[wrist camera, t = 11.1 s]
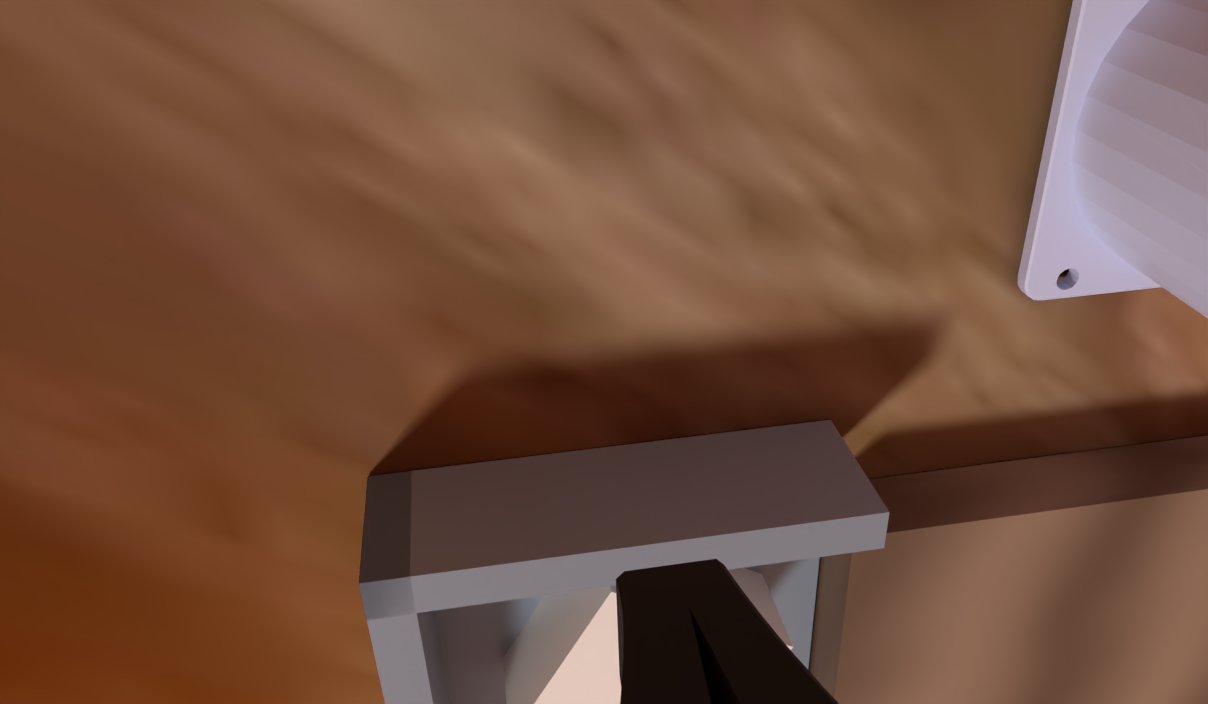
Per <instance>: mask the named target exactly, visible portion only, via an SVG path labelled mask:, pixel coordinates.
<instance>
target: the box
mask: <svg viewBox="0 0 1208 704" xmlns="http://www.w3.org/2000/svg"><path fill="white" fill-rule="evenodd" d="M888 519H889V511H888V509H887V508H886V506H885V504H884V503H883V501H882V500H881V498H880V496H879V495H878V493H877V492H876V490H875V489H874V487H873V485H872V484H871V482H870V481H869V479H868V478H867V476H866V474H865V473H864V471H863V470H862V468H861V467H860V465H859V463H858V462H857V460H856V459H855V457H854V455H853V454H852V452H851V451H850V449H849V448H848V446H847V444H846V443H845V441H844V440H843V438H842V437H841V435H840V433H839V432H838V430H837V429H836V427H835V426H834V424H833V422H832V421H831V420H824V421H815V422H807V423H799V424H791V425H783V426H774V427H766V428H758V429H750V430H742V431H734V432H725V433H717V434H709V435H701V436H693V437H684V438H676V439H668V440H660V441H652V442H644V443H635V444H627V445H619V446H611V447H603V448H594V449H586V450H578V451H570V452H562V453H553V454H545V455H537V456H529V457H521V458H513V459H504V460H496V461H488V462H480V463H472V464H463V465H455V466H447V467H439V468H431V469H423V470H414V471H406V472H398V473H390V474H382V475H373V476H368V479H367V491H366V503H365V515H364V527H363V539H362V551H361V563H360V575H359V587H360V592H361V596H362V601H363V605H364V610H365V614H366V619H367V623H368V628H369V632H370V637H371V641H372V646H373V650H374V655H375V660H376V664H377V669H378V673H379V678H380V682H381V687H382V691H383V696H384V700H385V704H506V693H505V681H504V670H503V657H504V656H505V654H506V653H507V651H508V650H509V648H510V647H511V645H512V644H513V642H514V640H515V639H516V637H517V636H518V634H519V633H520V631H521V630H522V628H523V627H524V625H525V624H526V622H527V621H528V619H529V617H530V616H531V614H532V613H533V611H534V610H535V608H536V607H537V605H538V604H539V602H540V601H541V599H542V598H543V596H544V595H551V594H558V593H565V592H572V591H580V590H587V589H594V588H601V587H608V586H616V578H618V577H619V576H620V575H621V574H622V573H623V572H624V571H630V570H637V569H644V568H652V567H659V566H666V565H673V564H681V563H688V562H695V561H703V560H710V559H717V560H719V561H720V562H721V563H723V564H724V565H725V567H726V568H727V569H728V570H731V569H738V568H746V569H749V570H752V571H755V572H758V573H761V574H762V575H763V577H764V579H765V582H766V584H767V586H768V589H769V591H770V593H771V596H772V598H773V601H774V603H775V605H776V608H777V610H778V612H779V615H780V617H781V619H782V622H783V624H784V626H785V629H786V631H787V634H788V636H789V638H790V641H791V643H792V645H793V648H792V649H791V651H792V652H793V653H794V655H795V656H796V657H797V658H798V659H799V660H800V661H801V662H802V664H803V665H804V666H805V667H806V668H807V669H808V667H809V657H810V647H811V637H812V628H813V618H814V608H815V598H816V588H817V578H818V569H819V559H820V557H824V556H831V555H839V554H846V553H853V552H860V551H867V550H875V549H882V548H884V546H885V539H886V532H887V526H888Z"/></svg>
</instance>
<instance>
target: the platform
mask: <svg viewBox="0 0 1208 704" xmlns="http://www.w3.org/2000/svg"><path fill="white" fill-rule="evenodd" d="M869 481H870V482H871V484H872V485H873V487H874V489H875V490H876V492H877V493H878V495H879V496H880V498H881V500H882V501H883V503H884V504H885V506H886V508H887V509H888V511H889V519H888V526H887V532H886V539H885V546H884V548H882V549H875V550H867V551H860V552H853V553H846V554H839V555H831V556H824V557H820V559H819V569H818V578H817V588H816V598H815V608H814V618H813V628H812V637H811V647H810V657H809V667H808V670H809V671H810V672H811V674H812V675H813V676H814V677H815V678H816V679H817V680H818V681H819V683H820V684H821V685H822V686H823V687H824V688H825V689H826V690H827V691H828V692H829V693H830V694H831V696H832V697H833V698H834V699H835V700H836V701H837V702H838V703H839V704H1208V435H1206V436H1198V437H1191V438H1183V439H1175V440H1168V441H1160V442H1152V443H1145V444H1137V445H1129V446H1122V447H1114V448H1106V449H1099V450H1091V451H1083V452H1075V453H1068V454H1060V455H1052V456H1045V457H1037V458H1029V459H1022V460H1014V461H1006V462H999V463H991V464H983V465H976V466H968V467H960V468H953V469H945V470H937V471H930V472H922V473H914V474H906V475H899V476H891V477H883V478H876V479H869Z"/></svg>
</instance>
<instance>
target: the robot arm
mask: <svg viewBox="0 0 1208 704" xmlns="http://www.w3.org/2000/svg"><path fill="white" fill-rule="evenodd" d="M1067 269H1069V271H1068V273H1067V276H1066V277H1064V278H1063V279H1062V280H1061V281H1058V282H1057V278H1058V276H1059V275H1060V274H1061V273H1062V272H1063V271H1064V270H1067ZM1018 286H1019V287H1020V289H1021V291H1022V292H1024V293H1025V294H1026V295H1027V296H1028V297H1030V298H1032V299H1033V300H1049V299H1058V298H1067V297H1076V296H1085V295H1095V294H1104V293H1113V292H1122V291H1131V290H1140V289H1149V288H1158V287H1163V288H1164V289H1166V290H1167V291H1169V292H1170V293H1172V294H1173V295H1174V296H1176V297H1177V298H1179V299H1180V300H1182V301H1183V302H1185V303H1186V304H1188V305H1189V306H1190V307H1192V308H1193V309H1195V310H1196V311H1198V312H1199V313H1201V314H1202V315H1204V316H1205V317H1206V318H1208V0H1073V3H1072V8H1071V13H1070V18H1069V23H1068V28H1067V33H1066V38H1065V43H1064V48H1063V53H1062V58H1061V63H1060V68H1059V73H1058V78H1057V83H1056V88H1055V93H1054V98H1053V103H1052V108H1051V113H1050V118H1049V123H1048V128H1047V133H1046V138H1045V143H1044V148H1043V153H1042V158H1041V163H1040V168H1039V173H1038V178H1037V183H1036V188H1035V193H1034V198H1033V203H1032V208H1031V213H1030V218H1029V223H1028V228H1027V233H1026V238H1025V243H1024V248H1023V253H1022V258H1021V263H1020V268H1019V273H1018ZM616 598H617V623H618V649H619V674H620V682H621V698H620V704H839V703H838V702H837V701H836V700H835V699H834V698H833V697H832V696H831V694H830V693H829V692H828V691H827V690H826V689H825V688H824V687H823V686H822V685H821V684H820V683H819V681H818V680H817V679H816V678H815V677H814V676H813V675H812V674H811V672H810V671H809V670H808V669H807V668H806V667H805V666H804V665H803V664H802V662H801V661H800V660H799V659H798V658H797V657H796V656H795V655H794V653H793V652H792V651H791V650H790V649H789V648H788V646H787V645H786V644H785V643H784V642H783V641H782V639H781V638H780V637H779V636H778V635H777V633H776V632H775V631H774V630H773V628H772V627H771V626H770V625H769V624H768V622H767V621H766V620H765V619H764V617H763V616H762V615H761V614H760V612H759V611H758V610H757V609H756V607H755V606H754V605H753V603H752V602H751V601H750V600H749V598H748V597H747V596H746V594H745V593H744V592H743V590H742V589H741V588H740V586H739V585H738V583H737V582H736V581H735V579H734V578H733V577H732V575H731V574H730V572H729V571H728V569H727V568H726V567H725V565H724V564H723V563H721V562H720V561H719V560H717V559H710V560H703V561H695V562H688V563H681V564H673V565H666V566H659V567H652V568H644V569H637V570H630V571H624V572H623V573H622V574H621V575H620V576H619V577H618V578H616Z"/></svg>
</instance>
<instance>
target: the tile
mask: <svg viewBox="0 0 1208 704" xmlns="http://www.w3.org/2000/svg"><path fill="white" fill-rule="evenodd" d="M728 571H729V572H730V574H731V575H732V577H733V578H734V579H735V581H736V582H737V583H738V585H739V586H740V588H741V589H742V590H743V592H744V593H745V594H746V596H747V597H748V598H749V600H750V601H751V602H752V603H753V605H754V606H755V607H756V609H757V610H758V611H759V612H760V614H761V615H762V616H763V617H764V619H765V620H766V621H767V622H768V624H769V625H770V626H771V627H772V628H773V630H774V631H775V632H776V633H777V635H778V636H779V637H780V638H781V639H782V641H783V642H784V643H785V644H786V645H787V646H788V648H789V649H790V650H791V649H792V648H793V645H792V643H791V641H790V638H789V636H788V634H787V631H786V629H785V626H784V624H783V622H782V619H781V617H780V615H779V612H778V610H777V608H776V605H775V603H774V601H773V598H772V596H771V593H770V591H769V589H768V586H767V584H766V582H765V579H764V577H763V575H762V574H761V573H758V572H755V571H752V570H749V569H746V568H738V569H731V570H728ZM503 670H504V681H505V693H506V704H620V698H621V682H620V674H619V649H618V623H617V598H616V586H608V587H601V588H594V589H587V590H580V591H572V592H565V593H558V594H551V595H544V596H543V598H542V599H541V601H540V602H539V604H538V605H537V607H536V608H535V610H534V611H533V613H532V614H531V616H530V617H529V619H528V621H527V622H526V624H525V625H524V627H523V628H522V630H521V631H520V633H519V634H518V636H517V637H516V639H515V640H514V642H513V644H512V645H511V647H510V648H509V650H508V651H507V653H506V654H505V656H504V657H503Z"/></svg>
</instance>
